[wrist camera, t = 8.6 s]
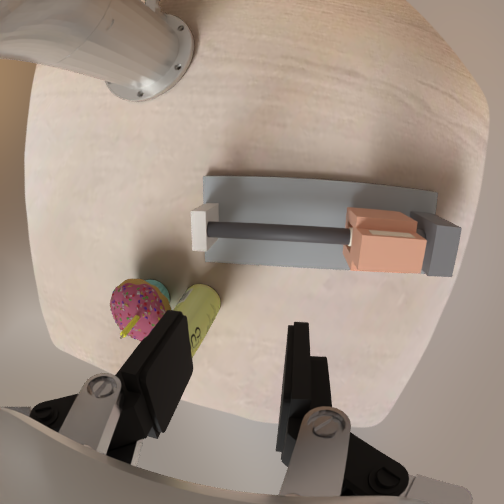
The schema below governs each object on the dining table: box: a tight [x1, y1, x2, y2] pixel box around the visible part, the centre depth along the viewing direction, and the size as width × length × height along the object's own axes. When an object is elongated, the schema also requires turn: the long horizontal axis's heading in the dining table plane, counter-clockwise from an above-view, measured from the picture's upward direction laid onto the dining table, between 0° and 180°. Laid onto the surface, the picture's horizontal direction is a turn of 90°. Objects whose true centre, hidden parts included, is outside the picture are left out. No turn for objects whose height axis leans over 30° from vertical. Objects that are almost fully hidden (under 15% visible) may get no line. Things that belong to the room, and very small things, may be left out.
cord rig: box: [191, 176, 461, 277], centre depth 28 cm, size 27×10×8 cm, turn 89°
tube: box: [174, 284, 221, 358], centre depth 28 cm, size 6×5×20 cm
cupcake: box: [110, 279, 171, 341], centre depth 33 cm, size 9×8×12 cm
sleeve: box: [343, 207, 427, 273], centre depth 25 cm, size 6×5×8 cm
